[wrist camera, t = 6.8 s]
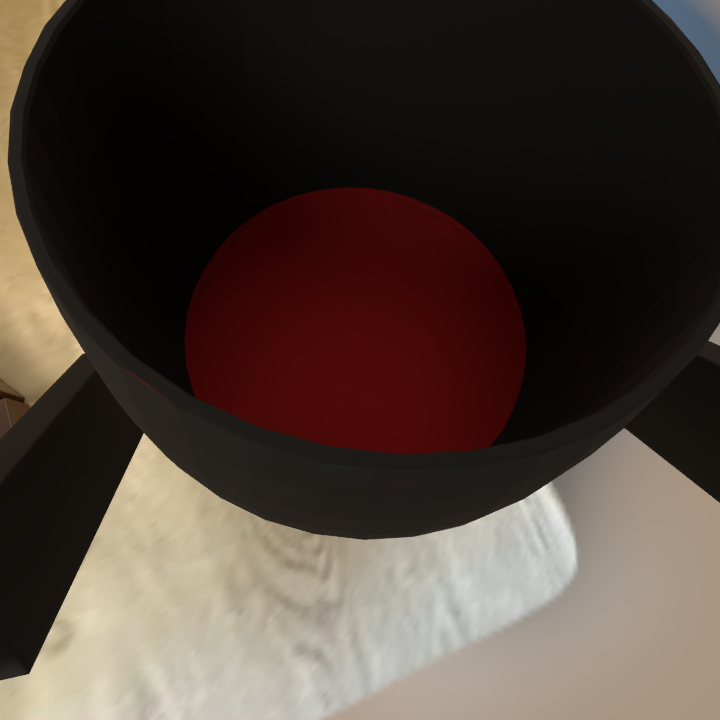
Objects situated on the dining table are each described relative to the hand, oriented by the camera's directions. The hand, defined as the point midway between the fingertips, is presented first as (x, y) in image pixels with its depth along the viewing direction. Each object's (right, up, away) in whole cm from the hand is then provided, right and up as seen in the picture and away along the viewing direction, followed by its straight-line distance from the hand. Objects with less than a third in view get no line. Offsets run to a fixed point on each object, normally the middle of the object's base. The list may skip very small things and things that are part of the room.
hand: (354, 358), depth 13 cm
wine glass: (-1, -3, +11) cm, 12 cm away
